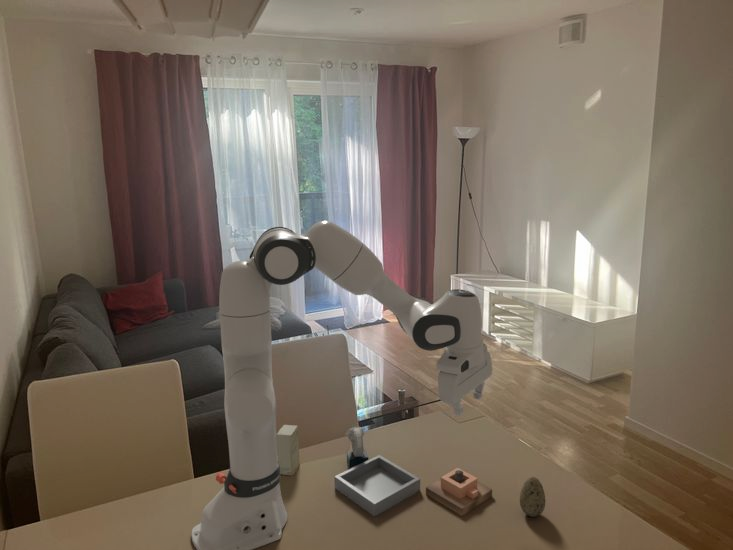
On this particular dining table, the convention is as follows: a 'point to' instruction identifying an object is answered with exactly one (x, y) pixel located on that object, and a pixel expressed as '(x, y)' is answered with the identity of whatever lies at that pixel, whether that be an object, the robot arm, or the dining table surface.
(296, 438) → the skincare box
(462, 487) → the ring
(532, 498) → the decorative egg
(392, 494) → the tray
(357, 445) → the watch
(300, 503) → the dining table surface
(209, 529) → the robot arm
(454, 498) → the base
